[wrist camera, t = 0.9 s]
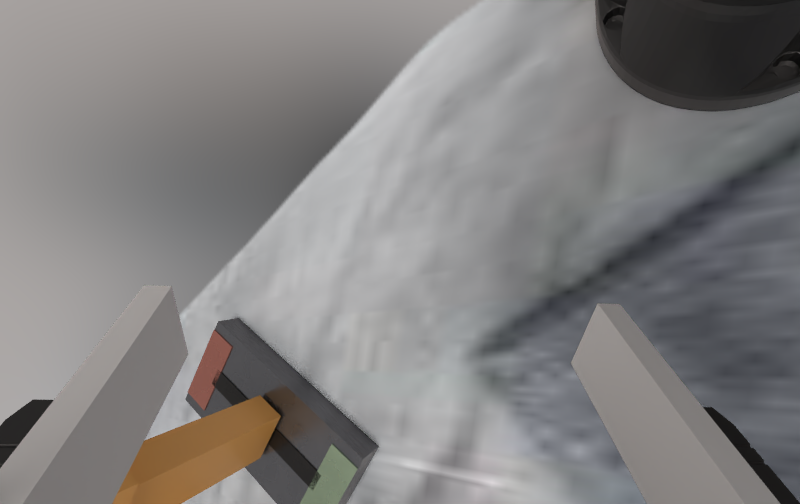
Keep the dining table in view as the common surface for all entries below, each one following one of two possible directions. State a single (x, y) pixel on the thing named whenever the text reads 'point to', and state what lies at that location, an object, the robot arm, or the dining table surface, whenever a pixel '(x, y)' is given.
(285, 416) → the switch plate
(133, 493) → the handle
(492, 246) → the dining table surface
